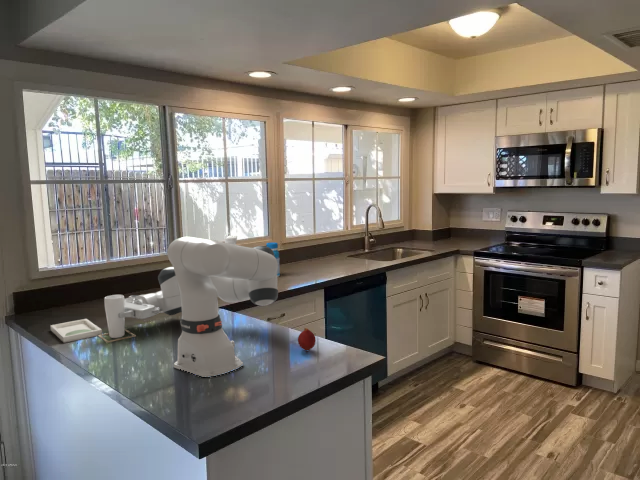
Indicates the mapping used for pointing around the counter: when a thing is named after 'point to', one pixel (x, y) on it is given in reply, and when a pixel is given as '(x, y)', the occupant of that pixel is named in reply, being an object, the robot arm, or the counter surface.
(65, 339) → the tray
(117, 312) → the drinking glass
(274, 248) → the beverage bottle
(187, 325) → the robot arm
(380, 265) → the counter surface
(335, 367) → the counter surface
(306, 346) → the onion
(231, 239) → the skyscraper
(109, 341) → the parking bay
